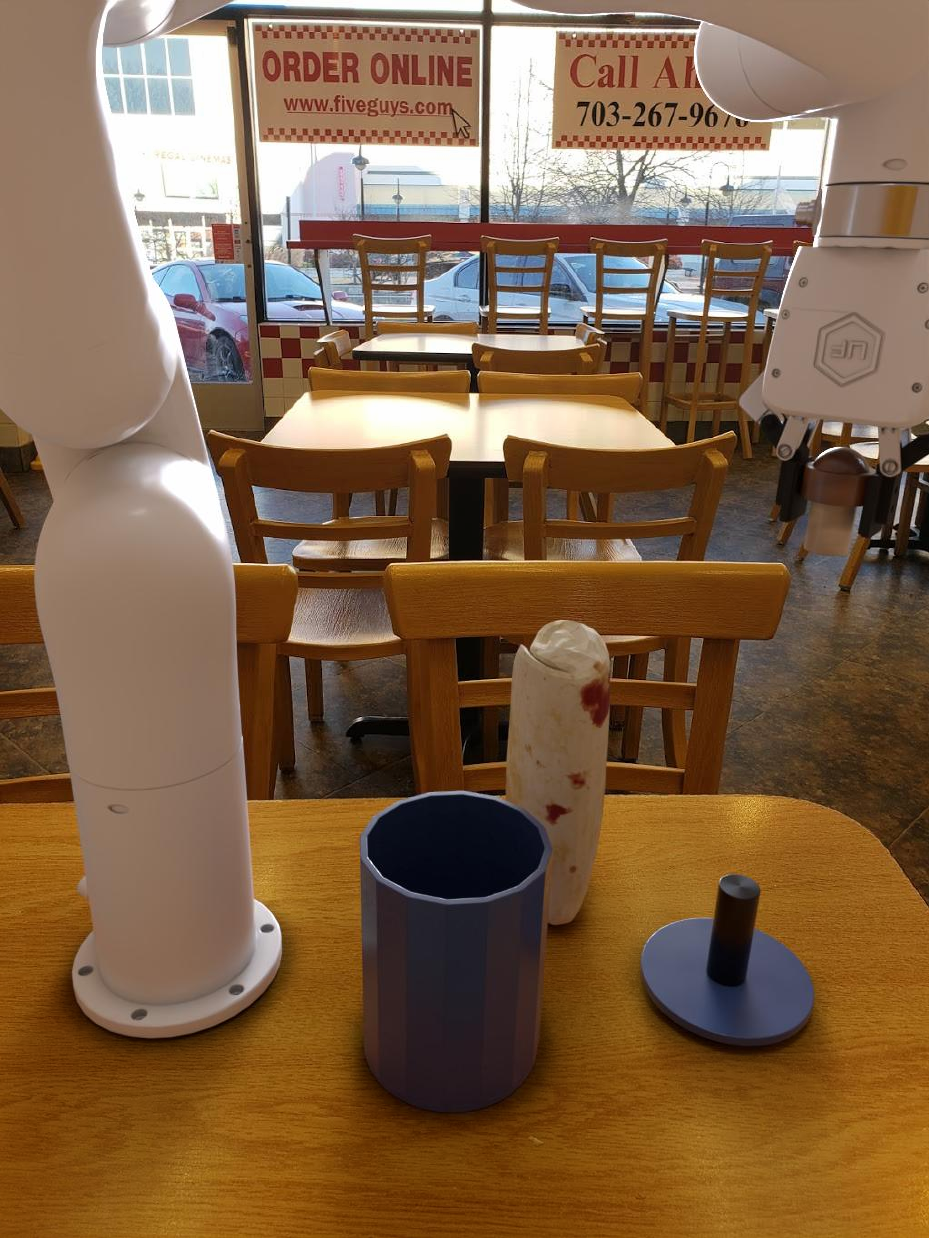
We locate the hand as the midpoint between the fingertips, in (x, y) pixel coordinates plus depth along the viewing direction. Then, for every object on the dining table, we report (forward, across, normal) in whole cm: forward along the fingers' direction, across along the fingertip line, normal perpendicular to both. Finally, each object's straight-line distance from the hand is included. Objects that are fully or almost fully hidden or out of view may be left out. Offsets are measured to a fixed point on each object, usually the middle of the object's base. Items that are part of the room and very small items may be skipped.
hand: (830, 523), depth 61 cm
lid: (+26, +3, -15) cm, 30 cm away
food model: (+27, -11, -14) cm, 32 cm away
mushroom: (+2, 0, 0) cm, 2 cm away
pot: (+27, -8, -28) cm, 40 cm away
